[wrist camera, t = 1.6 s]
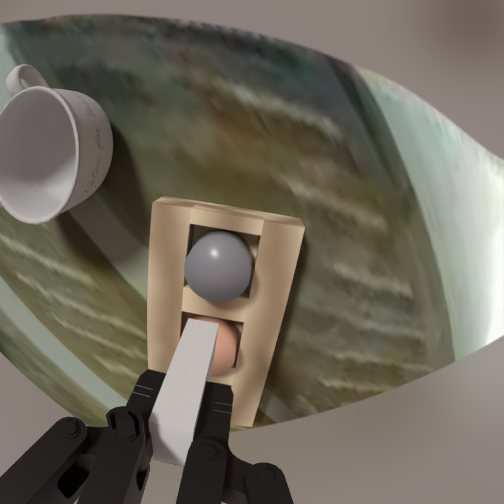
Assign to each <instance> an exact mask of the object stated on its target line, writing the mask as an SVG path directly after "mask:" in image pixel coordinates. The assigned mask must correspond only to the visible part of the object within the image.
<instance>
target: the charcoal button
mask: <svg viewBox="0 0 504 504" xmlns="http://www.w3.org/2000/svg"><path fill="white" fill-rule="evenodd" d="M251 264H252V255H251V250H250V248H249V245H248V244H247V242H246V241H245V240H244V239H243V238H242V237H241V236H240V235H238V234H237V233H235V232H233V231H230V230H226V229H215V230H211V231H209V232H206V233H205V234H203V235H202V236H201V237H200V238H199V239H198V240H197V241H196V243H195V245H194V246H193V248H192V249H191V251H190V253H189V254H188V256H187V258H186V261H185V265H184V275H185V279H186V281H187V283H188V285H189V287H190V288H191V289H192V291H193V292H194V293H196V294H197V295H198V296H200V297H201V298H203V299H205V300H208V301H212V302H227V301H230V300H233V299H235V298H237V297H238V296H240V295H241V294H242V293H243V292H244V291H245V289H246V288H247V286H248V284H249V281H250V276H251Z"/></svg>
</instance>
